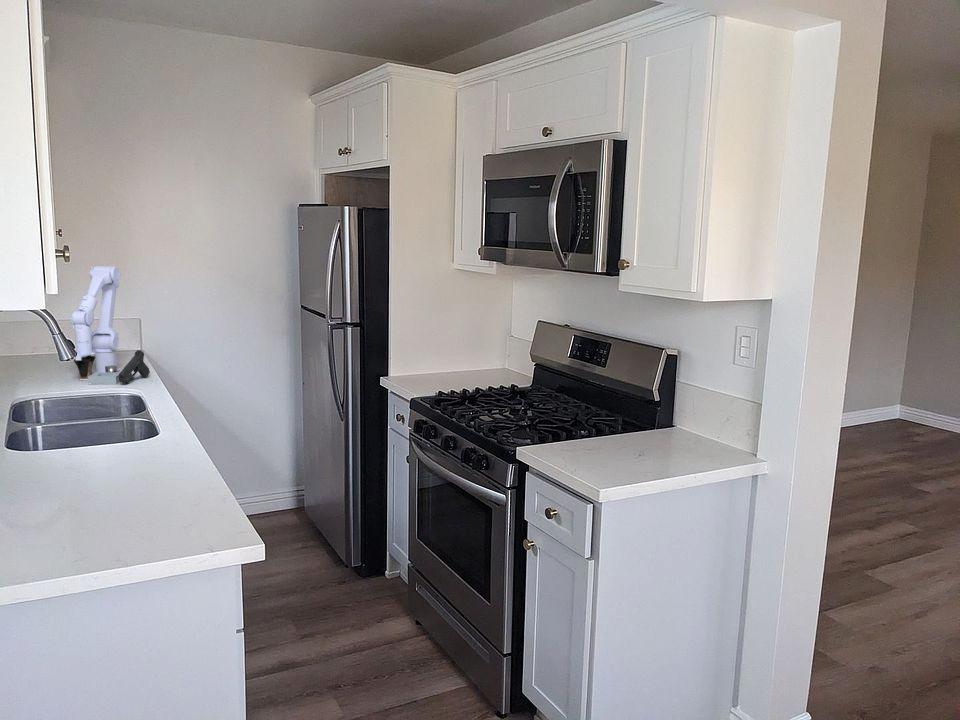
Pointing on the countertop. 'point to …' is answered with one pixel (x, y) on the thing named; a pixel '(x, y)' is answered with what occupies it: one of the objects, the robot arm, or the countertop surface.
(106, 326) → the robot arm
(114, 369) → the round bit
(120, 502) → the countertop surface
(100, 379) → the socket block
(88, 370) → the square bit
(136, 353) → the handgun
